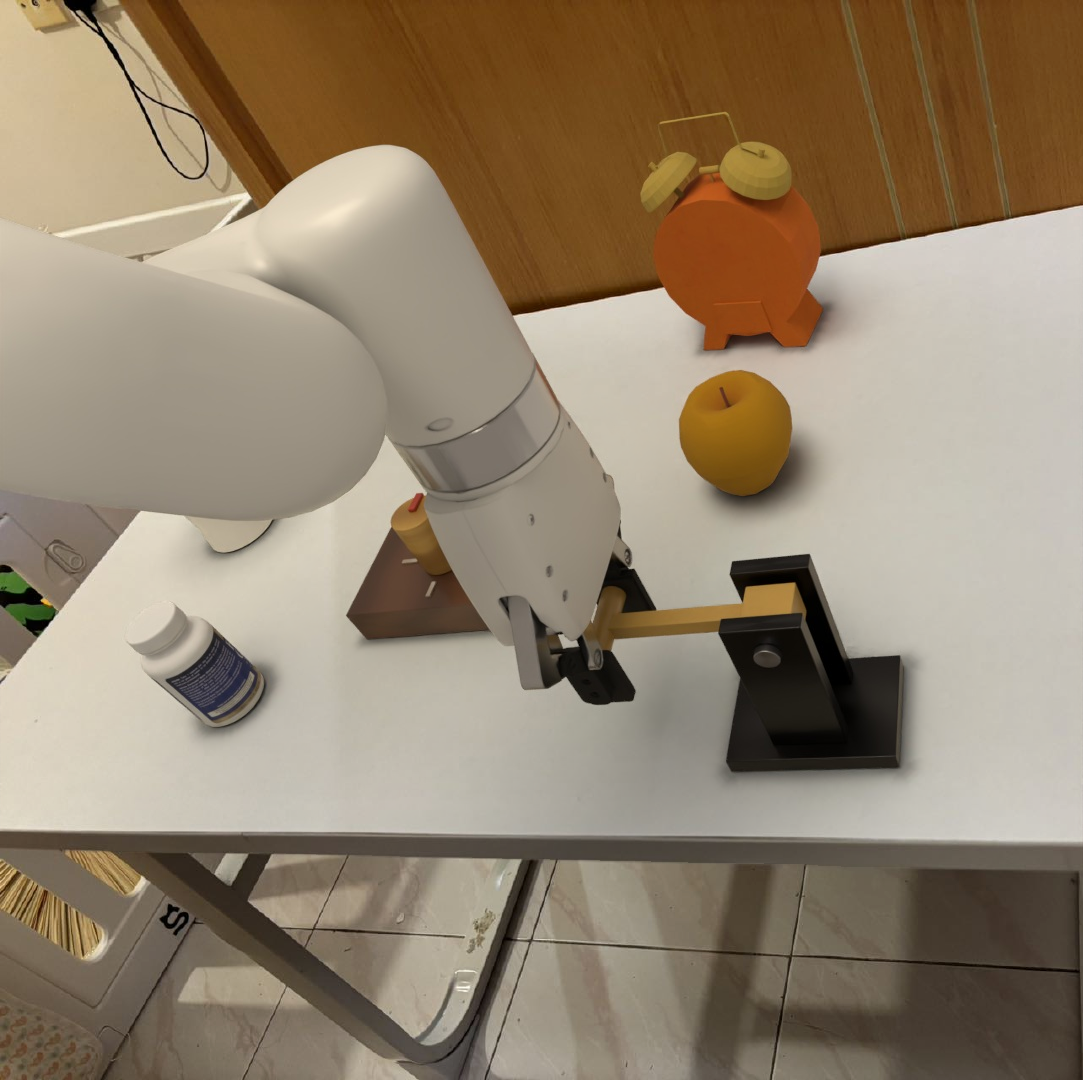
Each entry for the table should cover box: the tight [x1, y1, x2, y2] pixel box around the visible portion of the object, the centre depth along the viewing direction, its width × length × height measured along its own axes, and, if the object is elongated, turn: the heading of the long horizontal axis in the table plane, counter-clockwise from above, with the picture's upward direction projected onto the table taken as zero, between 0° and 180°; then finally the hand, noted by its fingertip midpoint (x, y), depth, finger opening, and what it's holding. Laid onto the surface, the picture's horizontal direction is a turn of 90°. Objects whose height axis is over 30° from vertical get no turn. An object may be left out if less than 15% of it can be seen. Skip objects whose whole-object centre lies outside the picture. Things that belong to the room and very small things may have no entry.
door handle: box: [592, 583, 806, 651], centre depth 56 cm, size 12×5×2 cm, turn 81°
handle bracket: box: [717, 553, 905, 773], centre depth 57 cm, size 10×7×12 cm
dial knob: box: [390, 492, 452, 575], centre depth 76 cm, size 4×4×5 cm
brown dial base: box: [345, 525, 490, 640], centre depth 79 cm, size 14×10×3 cm
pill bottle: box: [124, 600, 265, 728], centre depth 75 cm, size 5×5×10 cm
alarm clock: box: [639, 111, 824, 351], centre depth 85 cm, size 13×6×20 cm, turn 69°
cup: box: [183, 516, 273, 553], centre depth 91 cm, size 10×10×14 cm
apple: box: [678, 369, 793, 497], centre depth 75 cm, size 8×8×9 cm
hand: (621, 654), depth 59 cm, fingers closed on door handle, 5 cm apart
